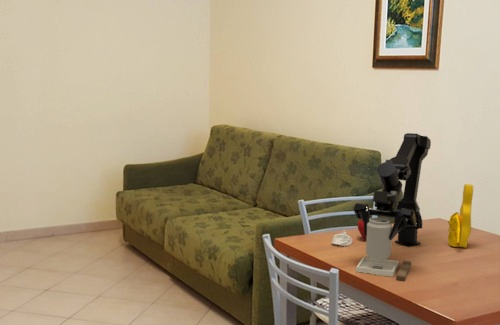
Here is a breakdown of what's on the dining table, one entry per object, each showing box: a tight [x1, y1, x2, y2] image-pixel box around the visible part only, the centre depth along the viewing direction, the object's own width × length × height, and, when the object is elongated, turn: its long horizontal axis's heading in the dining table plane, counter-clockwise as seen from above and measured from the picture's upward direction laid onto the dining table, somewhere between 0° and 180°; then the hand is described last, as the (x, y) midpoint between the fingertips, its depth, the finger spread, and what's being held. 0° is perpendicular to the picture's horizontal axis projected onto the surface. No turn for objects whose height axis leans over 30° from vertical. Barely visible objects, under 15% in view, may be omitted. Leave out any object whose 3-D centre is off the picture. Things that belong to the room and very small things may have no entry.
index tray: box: [355, 256, 399, 278], centre depth 179 cm, size 11×11×2 cm
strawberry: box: [356, 219, 367, 240], centre depth 211 cm, size 6×8×10 cm
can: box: [365, 216, 393, 260], centre depth 178 cm, size 8×8×12 cm
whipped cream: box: [331, 231, 353, 247], centre depth 206 cm, size 8×7×5 cm
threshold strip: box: [395, 260, 412, 282], centre depth 176 cm, size 16×2×1 cm, turn 158°
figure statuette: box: [447, 184, 474, 249], centre depth 203 cm, size 18×8×22 cm, turn 170°
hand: (377, 237), depth 176 cm, fingers closed on can, 7 cm apart
